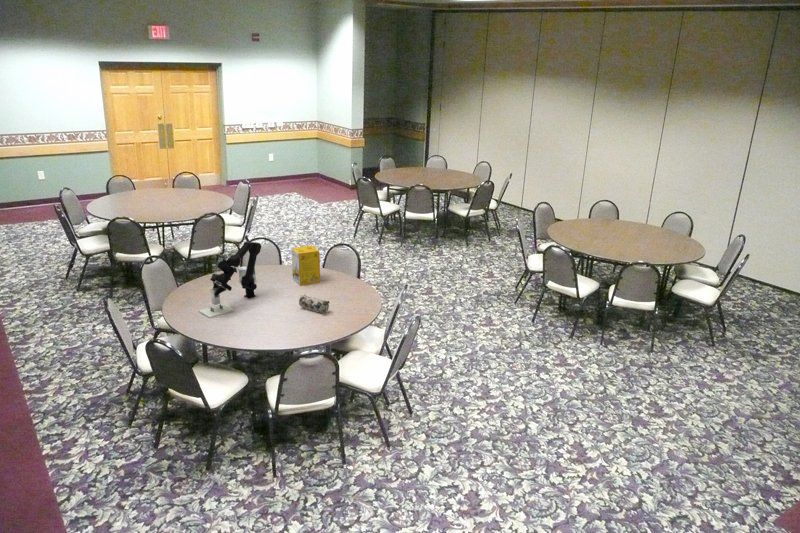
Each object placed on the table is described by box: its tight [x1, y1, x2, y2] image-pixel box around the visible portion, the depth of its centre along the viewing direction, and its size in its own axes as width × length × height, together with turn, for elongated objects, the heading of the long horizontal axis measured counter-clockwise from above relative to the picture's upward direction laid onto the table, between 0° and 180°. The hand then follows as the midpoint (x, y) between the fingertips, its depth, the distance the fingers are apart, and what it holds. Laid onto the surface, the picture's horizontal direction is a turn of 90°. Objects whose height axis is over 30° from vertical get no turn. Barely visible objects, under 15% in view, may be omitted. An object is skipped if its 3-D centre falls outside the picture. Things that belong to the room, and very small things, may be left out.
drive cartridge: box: [210, 288, 221, 306], centre depth 382 cm, size 4×4×10 cm
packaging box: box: [290, 245, 321, 287], centre depth 439 cm, size 16×16×25 cm
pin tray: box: [198, 303, 236, 319], centre depth 385 cm, size 14×18×4 cm
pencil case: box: [298, 293, 330, 315], centre depth 389 cm, size 22×8×10 cm, turn 58°
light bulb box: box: [238, 266, 257, 283], centre depth 438 cm, size 11×7×11 cm, turn 84°
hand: (213, 294), depth 381 cm, fingers closed on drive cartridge, 4 cm apart
